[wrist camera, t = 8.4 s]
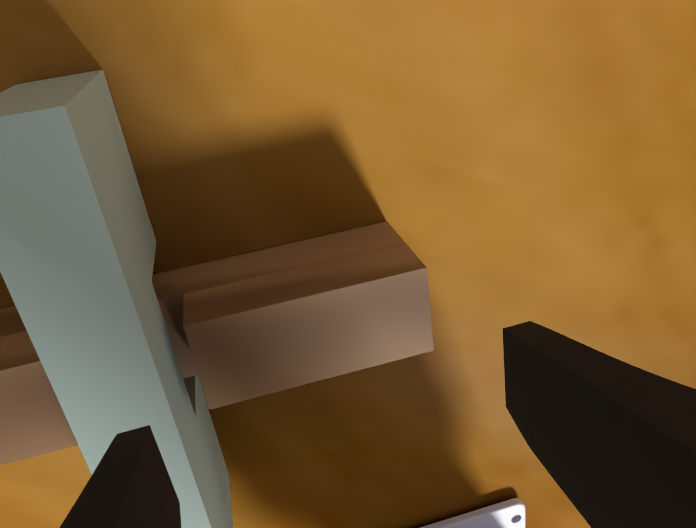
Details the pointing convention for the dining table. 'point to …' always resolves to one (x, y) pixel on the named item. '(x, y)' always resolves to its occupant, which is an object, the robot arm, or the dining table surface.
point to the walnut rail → (250, 327)
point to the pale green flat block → (98, 285)
